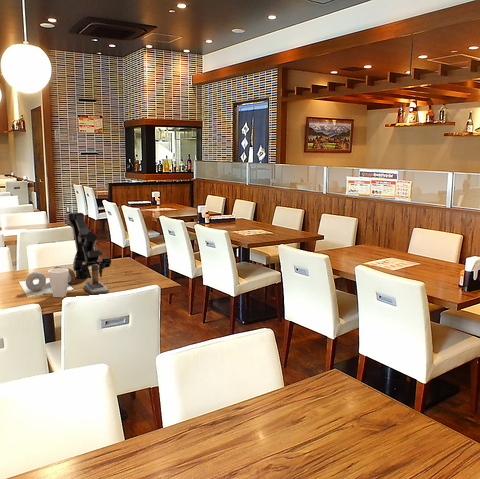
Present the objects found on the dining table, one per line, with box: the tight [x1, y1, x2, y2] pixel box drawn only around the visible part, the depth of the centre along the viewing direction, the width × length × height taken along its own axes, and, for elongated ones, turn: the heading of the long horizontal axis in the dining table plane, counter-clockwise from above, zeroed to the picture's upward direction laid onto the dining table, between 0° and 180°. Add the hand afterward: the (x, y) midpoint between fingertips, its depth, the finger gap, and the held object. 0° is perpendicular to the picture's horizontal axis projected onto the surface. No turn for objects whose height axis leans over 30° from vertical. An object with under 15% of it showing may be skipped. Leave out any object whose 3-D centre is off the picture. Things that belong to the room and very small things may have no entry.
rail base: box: [83, 281, 110, 295], centre depth 249 cm, size 14×10×3 cm
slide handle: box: [89, 264, 103, 288], centre depth 249 cm, size 5×5×12 cm
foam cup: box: [47, 267, 69, 298], centre depth 237 cm, size 10×9×13 cm
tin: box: [52, 266, 76, 285], centre depth 262 cm, size 15×3×8 cm, turn 71°
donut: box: [25, 271, 47, 292], centre depth 246 cm, size 10×4×10 cm, turn 133°
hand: (95, 277), depth 248 cm, fingers open, 5 cm apart
